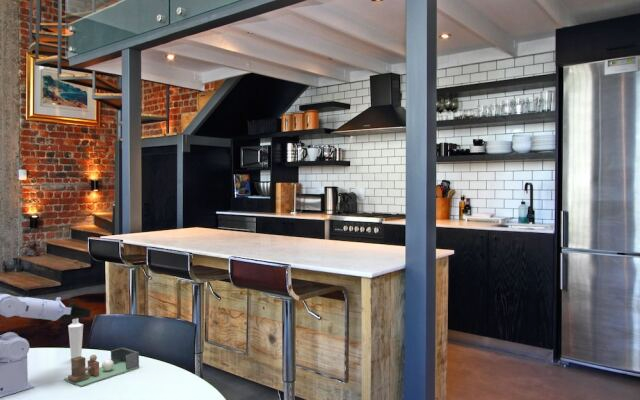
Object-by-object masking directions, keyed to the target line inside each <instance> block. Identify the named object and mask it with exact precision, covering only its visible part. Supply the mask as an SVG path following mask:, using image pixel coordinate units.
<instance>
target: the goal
mask: <svg viewBox="0 0 640 400" xmlns="http://www.w3.org/2000/svg"><path fill="white" fill-rule="evenodd" d="M110 360H112V361H113V363H114V364H117V363H120V362H124V363H126V370H129V369H132V368H135V367H138V369H140V353H139V351H136V350H132V349H129V348H125V347H120V348H115V349H113V350H110Z"/></svg>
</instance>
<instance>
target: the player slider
mask: <svg viewBox="0 0 640 400" xmlns="http://www.w3.org/2000/svg"><path fill="white" fill-rule="evenodd" d="M97 358H98V357H97V355H96V354H92V355H90V356H89V360H87V367H86V357H84V356H82V355H81V356H79V357H76V358H72V359H71V358H70V360H71V363H70V365H71V374H69V375H67V377H68V380H70V381H73V382H78V381H81V380H84V379H88V378H89V374H90V375H93V376H97V375H99V368H100V361H98V360H97ZM86 371H88V373H86Z"/></svg>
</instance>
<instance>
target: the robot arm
mask: <svg viewBox="0 0 640 400" xmlns="http://www.w3.org/2000/svg"><path fill="white" fill-rule="evenodd" d="M61 300H62V298H61V297H60V296H59V297H58V296H57V297H56V298H55V300H51V299H45V298H37V297H36V298H35V297H27V296H25V297H23V296H15V295H11V294H10V293H9V294H8V293H0V316H3V317H5V318H11V317H14V316H16V317H17V316H18V317H20V318H29V319H41V320H50V321H53V322H55V321H58V320H61V319H64V321H65V322H70V321H72V319H76V318H78V319H85V318H90V317H91V311H92V310H90V309H88V308H84V307H82V306H79V304H78V305H77V304H76V303H75V302H73V301H69V304H68V305H66V304H64V303H63V302H62V301H61ZM29 351H30V343H29V341H28V340H27V339H26V338H23V337H21V336H19V334H18V333H16V332H12V331H9V332H6V333H3V334H1V335H0V398H2V397H5V396H9V395H12V394H16V393H19V392H23V391H25V390H29V389H31V388H32V389H33V388H34V384H32V383H29V382H28V381H29V379H28V378H29V377H28V376H29V374H28V372H29V371H28V353H29Z"/></svg>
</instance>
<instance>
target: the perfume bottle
mask: <svg viewBox="0 0 640 400" xmlns="http://www.w3.org/2000/svg"><path fill="white" fill-rule="evenodd" d="M71 322H72V323H70V324H69V325H67V327H68V337H69V338H68V339H69V349H70V360H69V362H71V359H72V358H76V357H79V356H81V357H82V351H83V350H82V349H83V348H82V347H83V333H84V324H83V323H80V322H79V318H76V319H72V320H71Z"/></svg>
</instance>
